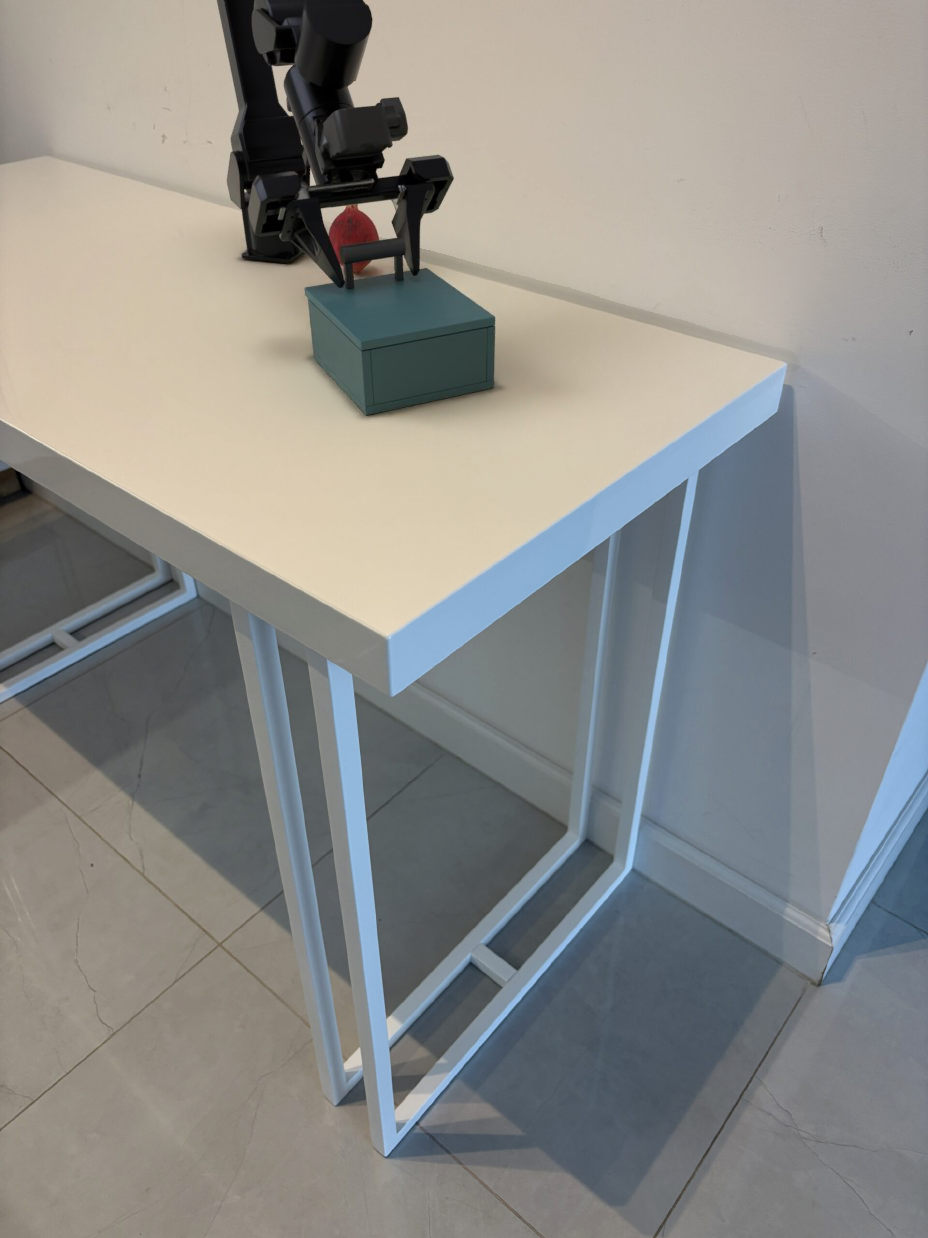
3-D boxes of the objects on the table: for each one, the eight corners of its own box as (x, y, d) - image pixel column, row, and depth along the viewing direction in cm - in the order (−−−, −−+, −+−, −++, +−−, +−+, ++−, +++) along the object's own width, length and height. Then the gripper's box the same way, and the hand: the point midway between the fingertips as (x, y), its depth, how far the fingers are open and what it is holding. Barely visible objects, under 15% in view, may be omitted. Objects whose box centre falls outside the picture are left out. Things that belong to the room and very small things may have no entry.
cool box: (313, 358, 90) (307, 298, 87) (431, 335, 95) (430, 278, 91) (365, 415, 81) (361, 351, 77) (494, 387, 85) (495, 325, 82)
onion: (373, 283, 107) (369, 209, 102) (325, 280, 108) (318, 206, 103) (385, 266, 111) (382, 195, 106) (339, 263, 112) (333, 192, 107)
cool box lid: (304, 295, 87) (299, 244, 84) (427, 275, 92) (425, 226, 89) (361, 350, 77) (357, 295, 74) (495, 325, 82) (496, 272, 79)
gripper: (237, 70, 76) (296, 247, 75) (443, 54, 83) (499, 217, 82) (227, 155, 87) (278, 311, 86) (410, 135, 93) (460, 280, 92)
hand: (379, 279), depth 86 cm, fingers open, 7 cm apart
